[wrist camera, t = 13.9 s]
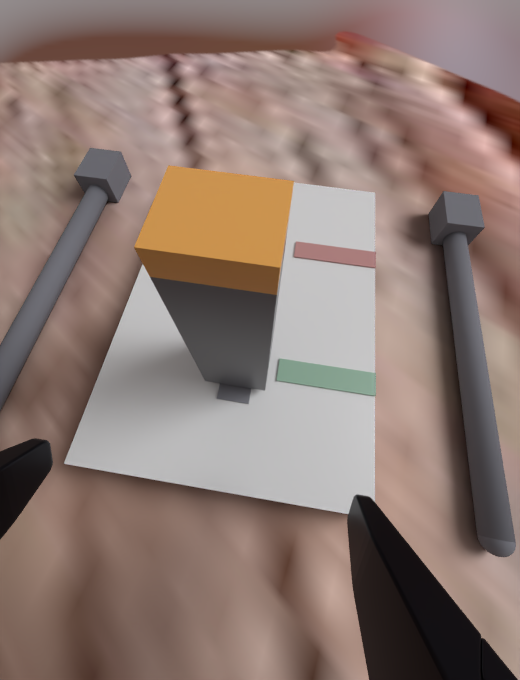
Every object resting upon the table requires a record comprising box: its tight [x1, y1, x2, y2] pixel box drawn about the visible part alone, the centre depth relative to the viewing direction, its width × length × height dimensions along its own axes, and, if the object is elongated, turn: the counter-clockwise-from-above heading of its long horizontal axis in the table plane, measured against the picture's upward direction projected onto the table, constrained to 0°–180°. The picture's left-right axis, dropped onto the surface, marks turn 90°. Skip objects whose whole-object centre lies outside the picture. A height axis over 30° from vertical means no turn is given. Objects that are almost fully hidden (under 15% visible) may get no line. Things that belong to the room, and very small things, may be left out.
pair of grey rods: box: [0, 148, 516, 557], centre depth 18 cm, size 22×28×2 cm
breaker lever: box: [134, 166, 294, 390], centre depth 11 cm, size 2×3×10 cm
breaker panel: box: [64, 183, 376, 514], centre depth 18 cm, size 20×14×2 cm
